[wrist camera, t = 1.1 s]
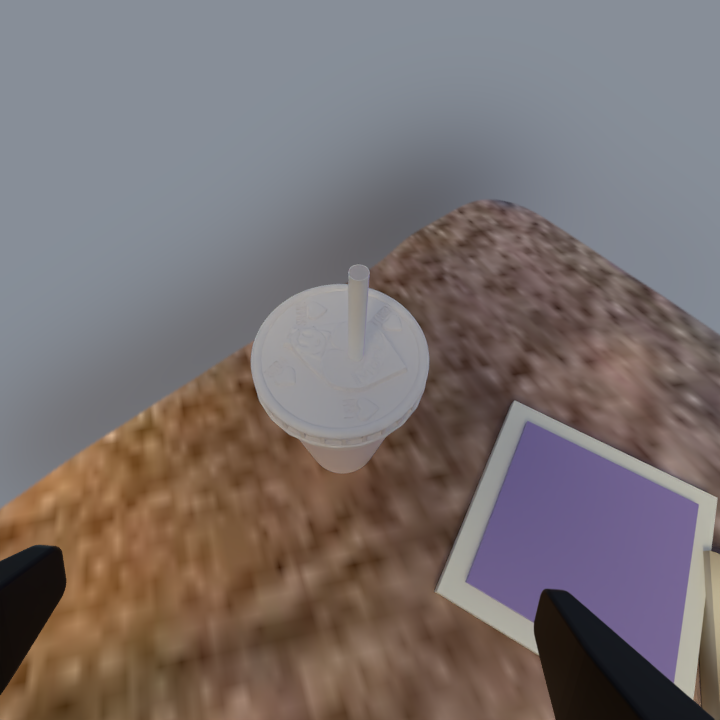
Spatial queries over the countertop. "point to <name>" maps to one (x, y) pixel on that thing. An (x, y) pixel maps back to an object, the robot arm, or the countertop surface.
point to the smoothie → (340, 369)
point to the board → (711, 637)
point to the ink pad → (584, 542)
